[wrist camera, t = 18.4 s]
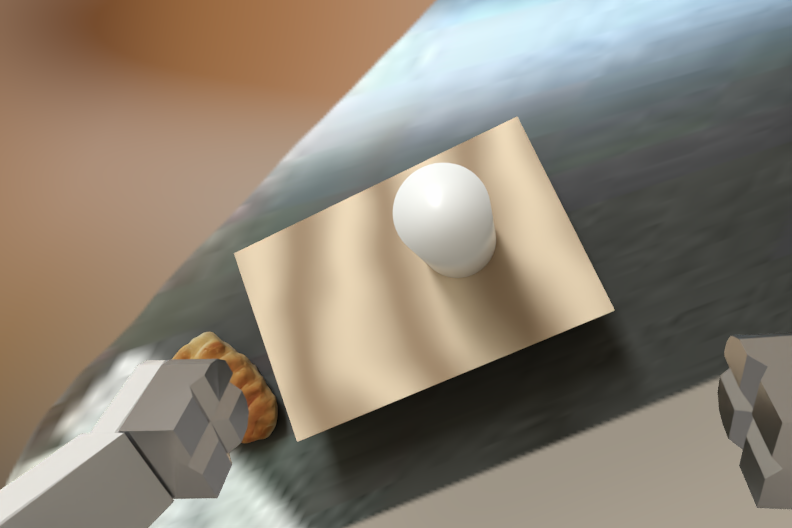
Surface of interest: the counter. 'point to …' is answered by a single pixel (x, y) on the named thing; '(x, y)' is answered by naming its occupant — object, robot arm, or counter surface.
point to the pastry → (239, 382)
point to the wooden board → (414, 290)
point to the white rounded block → (446, 219)
